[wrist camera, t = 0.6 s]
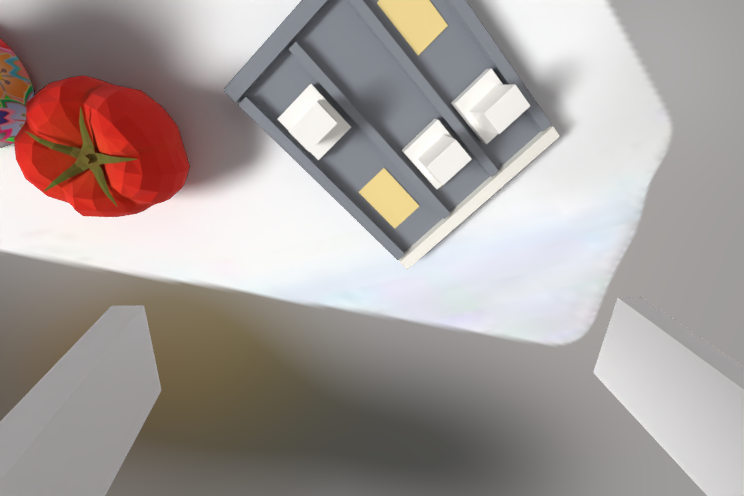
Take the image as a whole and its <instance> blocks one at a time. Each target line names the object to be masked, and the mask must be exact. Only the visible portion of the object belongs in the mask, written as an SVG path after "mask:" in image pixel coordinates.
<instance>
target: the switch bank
mask: <svg viewBox="0 0 744 496" xmlns="http://www.w3.org/2000/svg"><path fill="white" fill-rule="evenodd" d="M486 69H492V70H493V71H494V73H495V74H496V75H497V77H498V78H499V80H500V81H501V82H502V84H503V85H511V84H515V85H516V86H517V88H518V89H519V90H520V92H521V93H522V95H523V96H524V97H525V99H526V100H527V102H528V103H529V105H530V107H529V108H528V109H527V110H525V111H524V112H523V113H522V114H521V115H520V116H519V117H518V118H517V119H516V120H514V121H513V122H512V123H511V124H510V125H509V126H508V127H507V128H506V129H505V130H503V131H502V132H501V133H500V134H498V135H496V136H495V137H494V138H493V139H492V140H491V141H490V142H489V143H488V144H485V143H482V142H481V141H480V139H479V138H478V137H477V136H476V134H475V133H474V132H473V130H472V129H471V128H470V127H469V125H468V124H467V123H466V122H465V120H464V119H463V118H462V117H461V115H460V114H459V113H458V111H457V110H456V109H455V108H454V106H453V105H452V104H451V102H452V101H454V100H455V99H456V98H457V97H458V96H459V95H460V94H461V93H462V92H463V91H464V90H465V89H466V88H467V87H468V86H469V85H470V84H471V83H472V82H473V81H474V80H475V79H477V78H478V77H479V76H480V75H481V74H482V73H483V72H484V71H485V70H486ZM310 84H312V85H313V86H314V87H315V88H316V89H317V90H318V91H319V93H320V94H321V95H322V96H323V97H324V98H325V99H326V100H327V101H328V102H329V103H330V104H331V105H332V107H333V108H334V109H335V110H336V111H337V112H338V113H339V114H340V115H341V116H342V117H343V118H344V120H345V121H346V122H347V123H348V124H349V125H350V126H351V128H350V129H349V130H348V131H347V132H346V133H345V134H344V135H343V136H342V137H341V138H340V139H339V140H338V141H337V142H336V143H335V144H334V145H333V146H332V147H331V148H330V149H329V150H328V151H327V152H326V153H325V154H324V155H323V156H322V157H321V158H320V159H319V160H318V159H317V158H316V157H315V156H314V155H313V154H312V153H311V152H308V151H307V150H306V149H305V148H304V147H303V146H302V145H301V144H300V143H299V142H298V141H297V140H296V139H295V138H294V137H293V136H292V135H291V134H290V133H289V132H288V131H289V130H288V129H287V128H286V127H285V126H284V125H283V124H282V123H281V122H280V121H279V120H278V118H279V117H280V116H281V115H282V114H283V113H284V112H285V110H286V109H287V108H288V107H289V106H290V105H291V104H292V103H293V102H294V101H295V100H296V99H297V98H298V97H299V96H300V95H301V93H302V92H303V91H304V90H305V89H306V88H307V87H308V86H309V85H310ZM224 89H225V90H224V92H225V93H226V94H227V95H228V96H229V97H230V98H231V99H232V100H233V101H234V102H239V103H240V104H239V106H240V107H241V108H242V109H243V110H244V111H245V112H246V113H247V114H248V115H249V116H250V117H251V118H252V119H253V120H254V121H255V122H256V123H257V124H258V125H259V126H260V127H261V128H262V129H263V130H264V131H265V132H266V133H267V134H268V135H269V136H270V137H272V138H273V139H274V140H275V141H276V142H277V143H278V144H279V145H280V146H281V147H282V148H283V149H284V150H285V151H286V152H287V153H288V154H289V155H290V156H291V157H292V158H293V159H294V160H295V161H296V162H297V163H298V164H299V165H300V166H301V167H302V168H303V169H304V170H305V171H306V172H308V173H309V174H310V175H311V176H312V177H313V178H314V179H315V180H316V181H317V182H318V183H319V184H320V185H321V186H322V187H323V188H324V189H325V190H326V191H327V192H328V193H329V194H330V195H331V196H332V197H333V198H334V199H335V200H336V201H337V202H338V203H339V204H340V205H341V206H343V207H344V208H345V209H346V210H347V211H348V212H349V213H350V214H351V215H352V216H353V217H354V218H355V219H356V220H357V221H358V222H359V223H360V224H361V225H362V226H363V227H364V228H365V229H366V230H367V231H368V232H369V233H370V234H371V235H372V236H373V237H374V238H375V239H376V240H377V241H379V242H380V243H381V244H382V245H383V246H384V247H385V248H386V249H387V250H388V251H389V252H390V253H391V254H392V255H393V256H394V257H395V258H396V259H397V260H399V261H400V263H401V264H402V265H403V266H404V267H405V268H406V269H407V270H408V269H409V268H410V267H411V266H412V265H413V264H414V263H416V262H417V261H418V260H419V259H420V258H421V257H423V256H424V255H425V254H426V253H427V252H428V251H429V250H431V249H432V248H433V247H434V246H435V245H436V244H437V243H439V242H440V241H441V240H442V239H443V238H444V237H445V236H447V235H448V234H449V233H450V232H451V231H452V230H453V229H455V228H456V227H457V226H458V225H459V224H460V223H461V222H463V221H464V220H465V219H466V218H467V217H468V216H469V215H471V214H472V213H473V212H474V211H475V210H476V209H477V208H479V207H480V206H481V205H482V204H483V203H484V202H485V201H487V200H488V199H489V198H490V197H491V196H492V195H493V194H495V193H496V192H497V191H498V190H499V189H500V188H501V187H503V186H504V185H505V184H506V183H507V182H508V181H509V180H511V179H512V178H513V177H514V176H515V175H516V174H517V173H519V172H520V171H521V170H522V169H523V168H524V167H525V166H527V165H528V164H529V163H530V162H531V161H532V160H533V159H535V158H536V157H537V156H538V155H539V154H540V153H541V152H543V151H544V150H545V149H546V148H547V147H548V146H549V145H551V144H552V143H553V142H554V141H555V140H556V139H558V138H559V137H560V136H559V134H558V133H557V131H556V130H555V128H554V127H553V126H550V125H551V123H550V121H549V120H548V118H547V117H546V115H545V114H544V113H543V111H542V110H541V108H540V107H539V105H538V104H537V102H536V101H535V100H534V98H533V97H532V95H531V94H530V92H529V91H528V89H527V88H526V87H525V85H524V84H523V82H522V81H521V79H520V78H519V76H518V75H517V74H516V72H515V71H514V69H513V68H512V66H511V65H510V64H509V62H508V61H507V59H506V58H505V56H504V55H503V53H502V52H501V51H500V49H499V48H498V46H497V45H496V43H495V42H494V40H493V39H492V38H491V36H490V35H489V33H488V32H487V30H486V29H485V28H484V26H483V25H482V23H481V22H480V20H479V19H478V17H477V16H476V15H475V13H474V12H473V10H472V9H471V7H470V6H469V4H468V3H467V2H466V0H302V1H301V2H300V3H299V4H298V5H297V6H296V8H295V9H294V10H293V11H292V12H291V13H290V14H289V15H288V17H287V18H286V19H285V20H284V21H283V22H282V23H281V24H280V26H279V27H278V28H277V29H276V30H275V31H274V32H273V34H272V35H271V36H270V37H269V38H268V39H267V40H266V41H265V43H264V44H263V45H262V46H261V47H260V48H259V49H258V50H257V52H256V53H255V54H254V55H253V56H252V57H251V58H250V60H249V61H248V62H247V63H246V64H245V65H244V66H243V67H242V69H241V70H240V71H239V72H238V73H237V74H236V75H235V77H234V78H233V79H232V80H231V81H230V82H229V83H228V84H227V86H226V87H225V88H224ZM434 119H438V120H439V121H440V122H441V124H442V125H443V126H444V127H445V129H446V130H447V131H448V132H449V133H450V135H451V136H452V137H453V138H454V139H455V140H457V142H458V143H459V144H460V145H461V147H462V148H463V149H464V150H465V151H466V153H467V154H468V155H469V156H470V158H471V159H472V160H470V161H469V162H468V163H467V164H466V165H465V166H464V167H463V168H462V169H460V170H459V171H458V172H457V173H456V174H455V175H454V176H453V177H452V178H451V179H449V180H448V181H447V182H446V183H445V184H444V185H441V186H440V187H439V188H438V189H436V188H435V187H434V186H433V185H432V184H431V183H430V182H429V181H428V179H427V178H426V177H425V176H424V175H423V174H422V173H421V172H420V170H419V169H418V168H417V167H416V166H415V165H414V164H413V163H412V162H411V160H410V159H409V158H408V157H407V156H406V155H405V154H404V153H403V151H402V149H403V148H404V147H405V146H406V145H408V144H409V143H410V142H411V141H412V140H413V139H414V138H415V137H416V136H417V135H418V134H419V133H420V132H421V131H422V130H423V129H424V128H425V127H426V126H427V125H428V124H429V123H431V122H432V121H433V120H434Z"/></svg>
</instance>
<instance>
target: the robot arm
mask: <svg viewBox="0 0 744 496" xmlns="http://www.w3.org/2000/svg"><path fill="white" fill-rule="evenodd" d="M594 374H595V375H596V376H597V377H598V378H599V379H600V380H601V382H602V383H603V384H604V385H605V386H606V387H607V388H608V389H609V390H610V391H611V392H612V393H613V394H614V396H615V397H616V398H617V399H618V400H619V401H620V402H621V403H622V404H623V405H624V406H625V407H626V408H627V409H628V411H629V412H630V413H631V414H632V415H633V416H634V417H635V418H636V419H637V420H638V421H639V423H640V424H641V425H642V426H643V427H644V428H645V429H646V430H647V431H648V432H649V433H650V434H651V435H652V437H653V438H654V439H655V440H656V441H657V442H658V443H659V444H660V445H661V446H662V447H663V448H664V449H665V451H666V452H667V453H668V454H669V455H670V456H671V457H672V458H673V459H674V460H675V461H676V462H677V463H678V465H679V466H680V467H681V468H682V469H683V470H684V471H685V472H686V473H687V474H688V475H689V476H690V478H692V480H693V481H694V482H695V483H696V484H697V485H698V486H699V487H700V488H701V489H702V490H703V491H704V493H705V494H706V495H707V496H744V366H743V365H741V364H740V363H738V362H737V361H735V360H734V359H732V358H731V357H729V356H728V355H726V354H725V353H723V352H722V351H720V350H719V349H718V348H716V347H714V346H713V345H712V344H710V343H709V342H707V341H706V340H704V339H702V338H701V337H700V336H698V335H697V334H695V333H694V332H692V331H691V330H689V329H688V328H686V327H685V326H683V325H682V324H680V323H679V322H678V321H676V320H674V319H673V318H672V317H670V316H669V315H667V314H666V313H664V312H663V311H661V310H660V309H658V308H657V307H655V306H654V305H652V304H651V303H649V302H648V301H646V300H645V299H643V298H642V297H632V298H631V297H626V298H618V299H617V302H616V305H615V308H614V311H613V314H612V317H611V321H610V323H609V326H608V329H607V332H606V335H605V338H604V342H603V345H602V348H601V351H600V354H599V357H598V360H597V363H596V366H595V369H594ZM160 392H161V387H160V381H159V377H158V372H157V367H156V362H155V357H154V352H153V347H152V343H151V338H150V333H149V328H148V323H147V318H146V314H145V309H144V305H141V306H111V307H110V308H109V309H108V310H107V311H106V312H105V313H104V315H102V317H100V319H99V320H98V321H97V322H96V323H95V324H94V325H93V326H92V327H91V328H90V329H89V330H88V331H87V332H86V333H85V334H84V335H83V336H82V337H81V338H80V339H79V340H78V341H77V342H76V344H75V345H74V346H73V347H72V348H71V349H70V350H69V351H68V352H67V353H66V354H65V355H64V356H63V357H62V358H61V359H60V360H59V361H58V362H57V363H56V364H55V365H54V366H53V367H52V368H51V370H50V371H49V372H48V373H47V374H46V375H45V376H44V377H43V378H42V379H41V380H40V381H39V382H38V383H37V384H36V385H35V386H34V387H33V388H32V389H31V390H30V391H29V392H28V393H27V395H26V396H24V398H23V399H22V400H21V401H20V402H19V403H18V404H17V405H16V406H15V407H14V408H13V409H12V410H11V411H10V412H9V413H8V414H7V415H6V416H5V417H4V418H3V419H2V420H1V422H0V496H105V495H106V493H107V491H108V489H109V487H110V485H111V484H112V482H113V480H114V478H115V476H116V474H117V472H118V470H119V469H120V467H121V464H122V463H123V461H124V459H125V457H126V455H127V454H128V452H129V450H130V448H131V446H132V444H133V442H134V441H135V439H136V437H137V435H138V433H139V431H140V429H141V427H142V425H143V424H144V422H145V420H146V418H147V416H148V414H149V412H150V411H151V409H152V407H153V405H154V403H155V401H156V399H157V398H158V396H159V394H160Z"/></svg>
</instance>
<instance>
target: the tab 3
mask: <svg viewBox="0 0 744 496" xmlns="http://www.w3.org/2000/svg"><path fill="white" fill-rule="evenodd" d="M451 104H452V105H453V106H454V108H455V109H456V110H457V111H458V113H459V114H460V115H461V117H462V118H463V119H464V120H465V122H466V123H467V124H468V125H469V127H470V128H471V129H472V130H473V132H474V133H475V134H476V136H477V137H478V138H479V139H480V141H481V142H482V143H485V144H488V143H489V142H490V141H491V140H492V139H493V138H494V137H495V136H496V135H498V134H500V133H501V132H502V131H503V130H505V129H506V128H507V127H508V126H509V125H510V124H511V123H512V122H513V121H514V120H516V119H517V118H518V117H519V116H520V115H521V114H522V113H523V112H524V111H525V110H527V109H528V108H529V107H530V105H529V103H528V102H527V100H526V99H525V97H524V96H523V95H522V93H521V92H520V90H519V89H518V88H517V86H516V85H515V84H511V85H503V84H502V82H501V81H500V80H499V78H498V77H497V75H496V74H495V73H494V71H493V70H492V69H486V70H485V71H484V72H483V73H482V74H481V75H480V76H479V77H478V78H477V79H475V80H474V81H473V82H472V83H471V84H470V85H469V86H468V87H467V88H466V89H465V90H464V91H463V92H462V93H461V94H460V95H459V96H458V97H457V98H456V99H455V100H454V101H452V102H451Z"/></svg>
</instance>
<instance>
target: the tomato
mask: <svg viewBox="0 0 744 496" xmlns="http://www.w3.org/2000/svg"><path fill="white" fill-rule="evenodd" d="M14 144H15V153H16V160H17V162H18V164H19V166H20V168H21V170H22V172H23V174H24V176H25V179H27V180H28V181H29V182H30V183H32V184H33V185H34V186H36V187H37V188H38V189H39V190H41V191H42V192H43V193H44V194H46V195H47V196H49V197H52V198H55V199H58V200H62V201H65V202H68V203H70V204H71V205H72V206H73V207H74V209H75V210H76V211H77V212H79V213H80V214H81V215H83V216H99V217H119V216H125V215H131V214H137V213H139V212H142V211H144V210H146V209H147V208H149V207H151V206H152V205H154V204H157V203H161V202H164V201H166V200H168V199H170V198H171V197H172V196H173V195H175V194H176V193H177V192H178V191H179V190H180V189H181V188H182V187H183V185H184V184H185V181H186V178H187V174H188V171H189V168H190V166H189V162H188V159H187V156H186V152H185V149H184V146H183V142H182V139H181V136H180V132H179V129H178V126H177V125H176V124H175V122H174V121H173V120H172V118H171V117H170V116H169V115H168V113H167V112H166V111H165V110H164V108H163V107H162V106H160V105H159V104H158V103H157V102H155V101H154V100H153V99H151V98H150V97H149V96H147V95H146V94H145V93H144V92H142V91H141V90H136V89H131V88H126V87H121V86H116V85H113V84H110V83H107V82H104V81H101V80H99V79H96V78H91V77H87V76H77V77H71V78H67V79H63V80H59V81H55V82H52V83H49V84H48V85H46V86H45V87H44V88H43V89H41V90H40V91H39V92H38V93H37V94H35V95H34V96H33V97H32V98H31V99H30V100H29V101H28V102H27V103H26V121H25V123H24V125H23V126H22V128H21V129H20V131H19V132H18V134H17V135H16V136H15V138H14Z"/></svg>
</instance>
